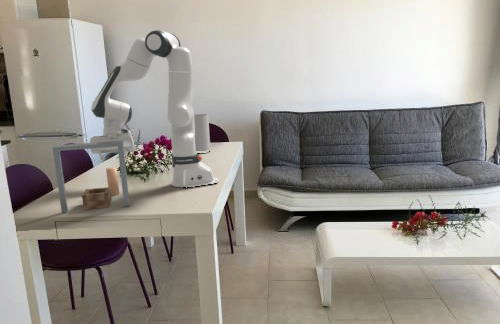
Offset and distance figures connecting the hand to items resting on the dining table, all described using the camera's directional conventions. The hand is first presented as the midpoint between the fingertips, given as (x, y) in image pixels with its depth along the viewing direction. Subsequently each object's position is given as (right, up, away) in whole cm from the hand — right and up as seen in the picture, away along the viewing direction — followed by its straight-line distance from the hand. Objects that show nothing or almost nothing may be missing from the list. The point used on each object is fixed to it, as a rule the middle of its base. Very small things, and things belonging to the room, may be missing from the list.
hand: (112, 158), depth 203 cm
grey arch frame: (+2, -20, -26) cm, 33 cm away
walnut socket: (+1, -19, -22) cm, 29 cm away
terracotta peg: (+3, -16, -7) cm, 18 cm away
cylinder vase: (+31, +5, +88) cm, 94 cm away
